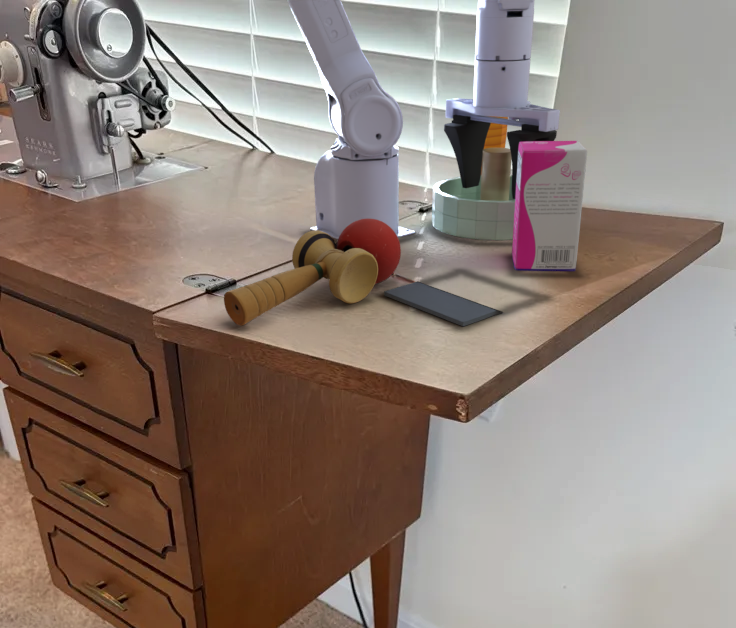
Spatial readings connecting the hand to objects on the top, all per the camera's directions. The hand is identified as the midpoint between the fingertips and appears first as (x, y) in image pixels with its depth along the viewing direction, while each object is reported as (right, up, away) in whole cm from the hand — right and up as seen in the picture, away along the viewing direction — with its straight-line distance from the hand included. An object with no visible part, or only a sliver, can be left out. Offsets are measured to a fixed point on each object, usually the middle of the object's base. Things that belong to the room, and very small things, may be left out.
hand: (495, 192), depth 88 cm
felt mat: (-6, -15, -18) cm, 24 cm away
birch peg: (0, -3, +2) cm, 3 cm away
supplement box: (+3, -11, -11) cm, 15 cm away
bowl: (0, -4, +2) cm, 4 cm away
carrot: (+1, +3, +14) cm, 14 cm away
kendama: (-19, -15, -18) cm, 30 cm away
